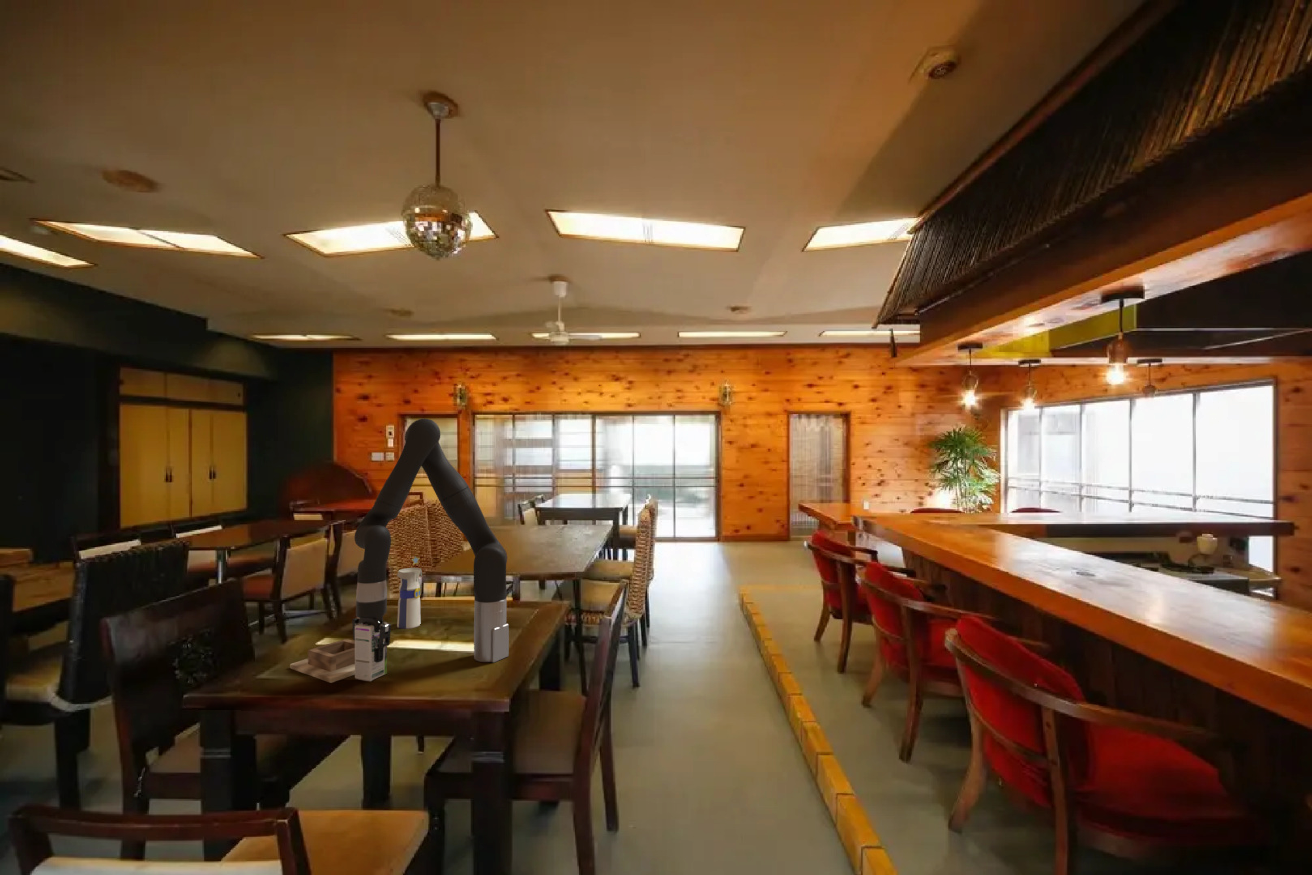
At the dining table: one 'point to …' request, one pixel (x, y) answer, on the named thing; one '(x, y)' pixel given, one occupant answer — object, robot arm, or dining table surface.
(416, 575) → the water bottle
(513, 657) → the dining table surface
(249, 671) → the dining table surface
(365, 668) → the syrup box
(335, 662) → the collar board
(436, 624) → the dining table surface
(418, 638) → the dining table surface
